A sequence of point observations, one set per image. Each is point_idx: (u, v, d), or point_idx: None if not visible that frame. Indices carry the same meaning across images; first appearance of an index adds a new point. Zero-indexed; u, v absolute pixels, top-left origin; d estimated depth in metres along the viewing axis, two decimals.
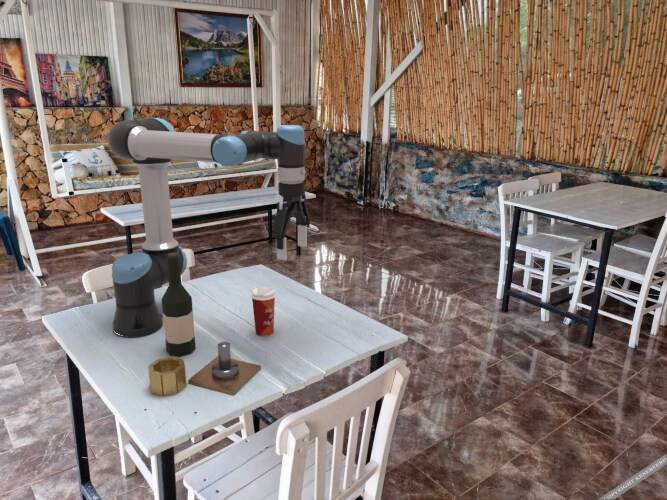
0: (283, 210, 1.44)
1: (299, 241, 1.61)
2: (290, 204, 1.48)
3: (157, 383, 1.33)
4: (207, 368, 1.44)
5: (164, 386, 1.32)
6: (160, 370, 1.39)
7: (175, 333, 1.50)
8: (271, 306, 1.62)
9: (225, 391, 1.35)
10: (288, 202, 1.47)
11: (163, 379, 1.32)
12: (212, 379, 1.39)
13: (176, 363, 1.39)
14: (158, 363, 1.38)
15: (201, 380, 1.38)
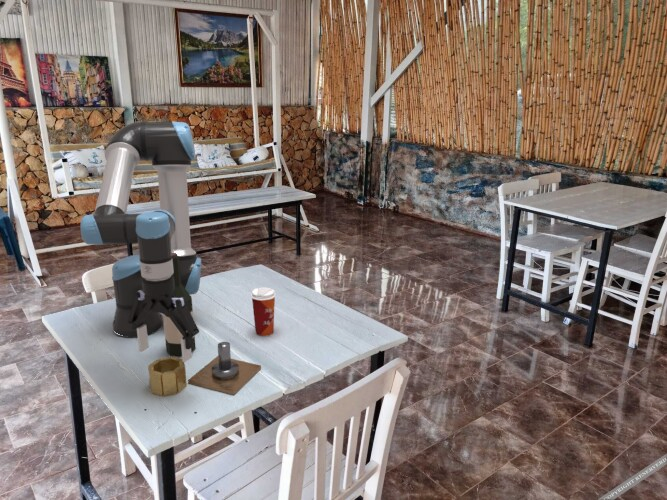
0: None
1: None
2: (146, 298, 1.30)
3: (157, 383, 1.33)
4: (207, 368, 1.44)
5: (164, 386, 1.32)
6: (160, 370, 1.39)
7: (175, 333, 1.50)
8: (271, 306, 1.62)
9: (225, 391, 1.35)
10: (144, 295, 1.30)
11: (163, 379, 1.32)
12: (212, 379, 1.39)
13: (176, 363, 1.39)
14: (158, 363, 1.38)
15: (201, 380, 1.38)
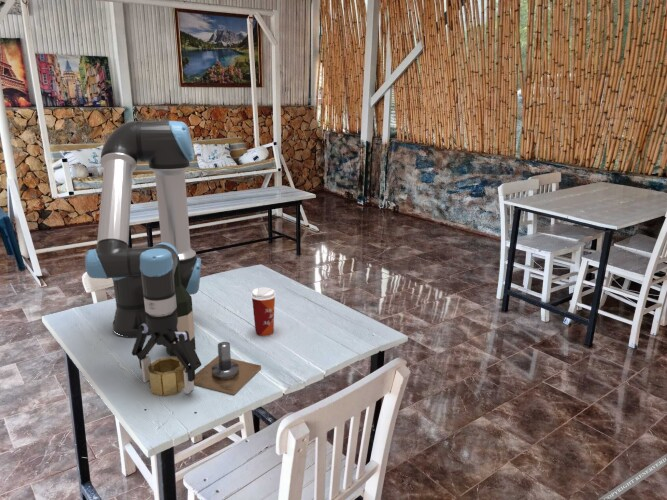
0: None
1: None
2: (150, 331, 1.33)
3: (157, 383, 1.33)
4: (207, 368, 1.44)
5: (164, 386, 1.32)
6: (160, 370, 1.39)
7: None
8: (271, 306, 1.62)
9: (225, 391, 1.35)
10: (148, 328, 1.33)
11: (163, 379, 1.32)
12: (212, 379, 1.39)
13: (176, 363, 1.39)
14: (158, 363, 1.38)
15: (201, 380, 1.38)
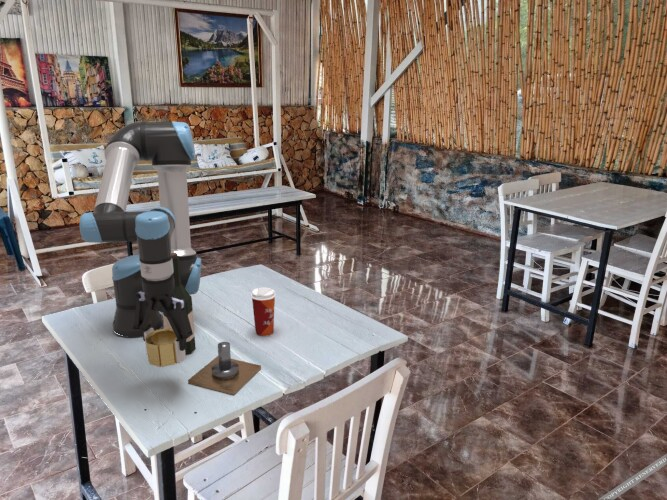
0: None
1: None
2: (147, 297, 1.30)
3: (154, 354, 1.31)
4: (207, 368, 1.44)
5: (161, 357, 1.30)
6: (157, 341, 1.37)
7: None
8: (271, 306, 1.62)
9: (225, 391, 1.35)
10: (144, 294, 1.30)
11: (160, 350, 1.30)
12: (212, 379, 1.39)
13: (173, 334, 1.37)
14: (155, 334, 1.36)
15: (201, 380, 1.38)
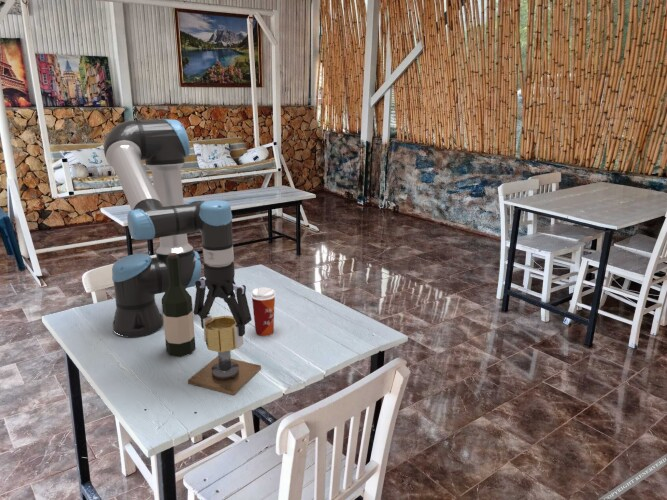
0: None
1: None
2: (207, 284, 1.34)
3: (214, 339, 1.34)
4: (207, 368, 1.44)
5: (221, 342, 1.34)
6: None
7: (175, 333, 1.50)
8: (271, 306, 1.62)
9: (225, 391, 1.35)
10: (205, 281, 1.35)
11: (221, 335, 1.34)
12: (212, 379, 1.39)
13: (230, 321, 1.40)
14: (213, 321, 1.39)
15: (201, 380, 1.38)
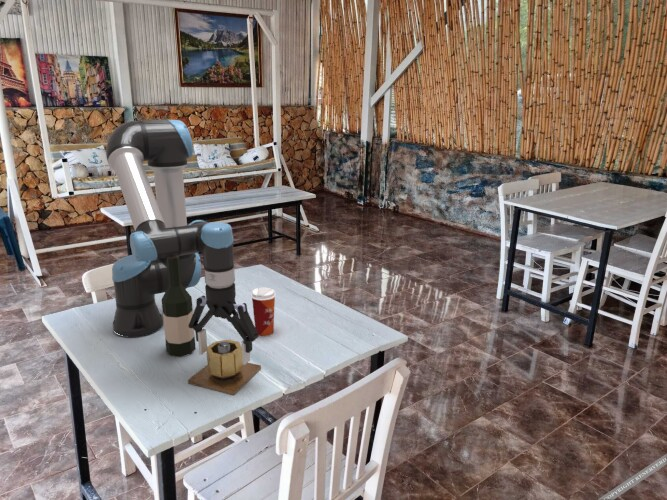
0: None
1: None
2: (208, 304, 1.36)
3: (216, 365, 1.37)
4: (207, 368, 1.44)
5: (223, 367, 1.37)
6: (216, 353, 1.43)
7: (175, 333, 1.50)
8: (271, 306, 1.62)
9: (225, 391, 1.35)
10: (206, 301, 1.36)
11: (222, 360, 1.36)
12: (212, 379, 1.39)
13: (232, 345, 1.43)
14: (215, 346, 1.42)
15: (201, 380, 1.38)
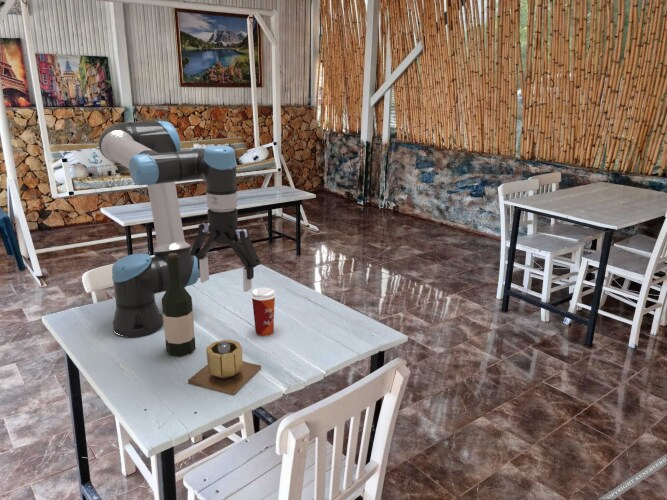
0: None
1: None
2: (210, 230, 1.36)
3: (216, 365, 1.37)
4: (207, 368, 1.44)
5: (223, 367, 1.37)
6: (216, 353, 1.43)
7: (175, 333, 1.50)
8: (271, 306, 1.62)
9: (225, 391, 1.35)
10: (208, 226, 1.36)
11: (222, 360, 1.36)
12: (212, 379, 1.39)
13: (232, 345, 1.43)
14: (215, 346, 1.42)
15: (201, 380, 1.38)
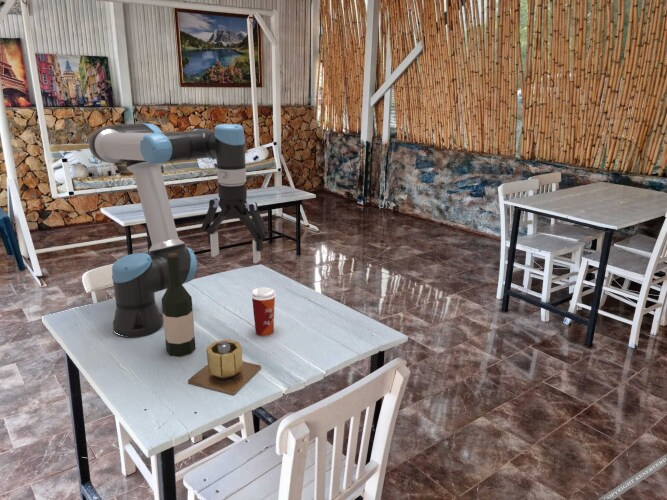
0: None
1: None
2: (221, 205, 1.43)
3: (216, 365, 1.37)
4: (207, 368, 1.44)
5: (223, 367, 1.37)
6: (216, 353, 1.43)
7: (175, 333, 1.50)
8: (271, 306, 1.62)
9: (225, 391, 1.35)
10: (219, 202, 1.43)
11: (222, 360, 1.36)
12: (212, 379, 1.39)
13: (232, 345, 1.43)
14: (215, 346, 1.42)
15: (201, 380, 1.38)
